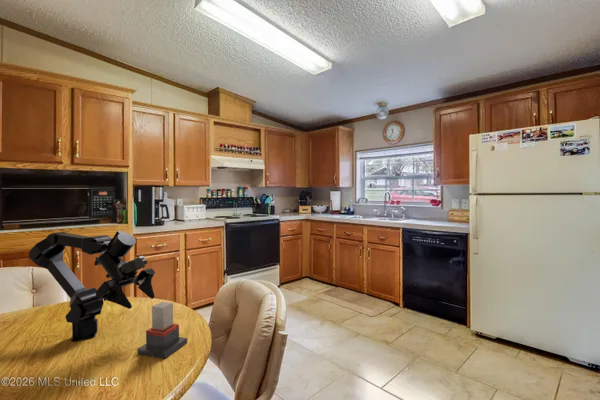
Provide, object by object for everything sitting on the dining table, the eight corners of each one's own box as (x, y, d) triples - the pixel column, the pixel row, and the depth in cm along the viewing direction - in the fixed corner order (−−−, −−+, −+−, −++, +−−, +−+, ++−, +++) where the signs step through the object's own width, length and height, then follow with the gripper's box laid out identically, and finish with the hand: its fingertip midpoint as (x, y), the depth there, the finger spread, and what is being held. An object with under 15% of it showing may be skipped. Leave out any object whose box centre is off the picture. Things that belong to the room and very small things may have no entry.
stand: (137, 353, 90) (137, 332, 90) (161, 338, 100) (161, 319, 100) (164, 358, 87) (164, 336, 87) (187, 342, 97) (186, 322, 97)
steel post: (152, 345, 92) (151, 306, 92) (162, 338, 96) (161, 301, 96) (163, 347, 91) (163, 308, 91) (173, 340, 95) (173, 303, 95)
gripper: (102, 255, 88) (133, 295, 85) (150, 245, 106) (177, 278, 103) (82, 279, 90) (111, 320, 87) (133, 266, 108) (158, 299, 105)
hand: (142, 302), depth 96 cm, fingers open, 9 cm apart
